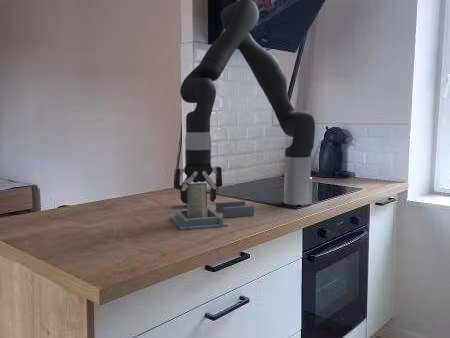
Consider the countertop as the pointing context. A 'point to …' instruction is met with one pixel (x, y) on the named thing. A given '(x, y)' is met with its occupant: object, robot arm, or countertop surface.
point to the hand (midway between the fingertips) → (198, 202)
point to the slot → (234, 209)
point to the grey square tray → (197, 220)
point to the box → (197, 200)
